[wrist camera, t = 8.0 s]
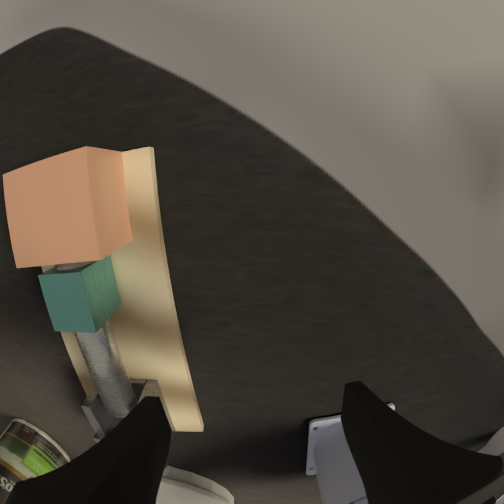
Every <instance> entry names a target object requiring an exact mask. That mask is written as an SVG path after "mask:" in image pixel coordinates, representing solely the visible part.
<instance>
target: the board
mask: <svg viewBox="0 0 504 504" xmlns="http://www.w3.org/2000/svg"><path fill="white" fill-rule="evenodd" d="M122 155H123V167H124V178H125V188H126V197H127V205H128V213H129V220H130V227H131V233H132V240H133V241H131V242H130V243H128V244H126V245H125V246H123V247H121V248H120V249H118V250H116V251H115V252H113V253H112V254H110V255H111V260H112V265H113V270H114V275H115V279H116V284H117V288H118V293H119V297H120V301H121V306H120V307H119V308H118V309H117V310H116V311H115V312H114V313H113V315H112V316H111V317H110V318H109V319H110V322H111V326H112V329H113V332H114V336H115V339H116V342H117V345H118V348H119V351H120V354H121V357H122V360H123V363H124V366H125V369H126V372H127V374H128V377H129V379H147V380H158V382H159V386H160V389H161V392H162V394H163V397H164V400H165V403H166V406H167V409H168V411H169V414H170V417H171V420H172V422H173V425H174V427H175V430H176V431H189V432H203V428H204V424H203V420H202V417H201V413H200V410H199V406H198V403H197V399H196V395H195V391H194V388H193V384H192V380H191V376H190V372H189V368H188V364H187V359H186V355H185V351H184V347H183V342H182V338H181V333H180V328H179V323H178V319H177V314H176V309H175V304H174V298H173V293H172V287H171V282H170V276H169V270H168V264H167V258H166V251H165V245H164V238H163V231H162V224H161V216H160V208H159V199H158V190H157V181H156V171H155V159H154V148H152V147H145V148H140V149H134V150H130V151H125V152H122ZM54 266H55V265H45V266H42V271H43V272H45V271H47V270H49V269H50V268H52V267H54ZM60 332H61V335H62V338H63V340H64V343H65V346H66V348H67V351H68V354H69V356H70V359H71V361H72V363H73V366H74V368H75V371H76V373H77V375H78V377H79V380H80V382H81V384H82V386H83V388H84V391H85V393H86V395H88V393H89V392H90V390H91V389H92V387H93V386H94V382H93V380H92V378H91V375H90V373H89V371H88V368H87V366H86V363H85V361H84V358H83V355H82V353H81V350H80V347H79V345H78V342H77V339H76V336H75V333H74V332H62V331H60Z"/></svg>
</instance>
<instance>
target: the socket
mask: <svg viewBox="0 0 504 504" xmlns="http://www.w3.org/2000/svg"><path fill="white" fill-rule="evenodd" d="M3 184H4V195H5V204H6V212H7V220H8V226H9V232H10V238H11V243H12V249H13V253H14V258H15V263H16V267H17V268H25V267H35V266H45V265H55V264H66V263H76V262H87V261H97V260H102V259H104V258H105V257H107V256H108V255H110V254H112V253H113V252H115V251H116V250H118V249H120V248H121V247H123V246H125V245H126V244H128V243H130V242H131V241H133V240H132V233H131V227H130V220H129V213H128V205H127V197H126V188H125V178H124V167H123V155H122V152H119V151H113V150H107V149H101V148H94V147H87V146H86V147H82V148H79V149H75V150H72V151H69V152H65V153H62V154H59V155H56V156H53V157H50V158H47V159H44V160H41V161H38V162H35V163H32V164H29V165H27V166H24V167H21V168H19V169H16V170H13V171H11V172H8V173H6V174H3Z"/></svg>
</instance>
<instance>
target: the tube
mask: <svg viewBox="0 0 504 504" xmlns="http://www.w3.org/2000/svg"><path fill="white" fill-rule="evenodd" d="M38 277H39V281H40V285H41V288H42V292H43V296H44V299H45V303H46V306H47V309H48V312H49V315H50V318H51V322H52V324H53V327H54V330H55V331H62V332H74V333H75V336H76V339H77V342H78V345H79V347H80V350H81V353H82V355H83V358H84V361H85V363H86V366H87V368H88V371H89V373H90V375H91V378H92V380H93V382H94V385H95V387H96V389H97V391H98V394H99V396H100V398H101V400H102V402H103V404H104V406H105V408H106V410H107V412H108V414H109V415H110V416H112V417H115V418H124V417H126V416H127V415H128V414H129V412H130V411H131V410H132V409H133V408H134V407H135V406H136V405H137V403H138V400H137V398H136V395H135V393H134V390H133V388H132V385H131V382H130V380H129V377H128V374H127V372H126V369H125V366H124V363H123V360H122V357H121V354H120V351H119V348H118V345H117V342H116V339H115V336H114V332H113V329H112V326H111V322H110V319H109V318H110V317H111V316H112V315H113V313H114V312H115V311H116V310H117V309H118V308H119V307H120V306H121V301H120V297H119V293H118V288H117V284H116V279H115V275H114V270H113V265H112V260H111V255H108V256H107V257H105V258H104V259H102V260H97V261H87V262H76V263H66V264H55V266H54V267H52V268H50V269H49V270H47V271H45V272H43V273H41V274H40V275H38Z"/></svg>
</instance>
